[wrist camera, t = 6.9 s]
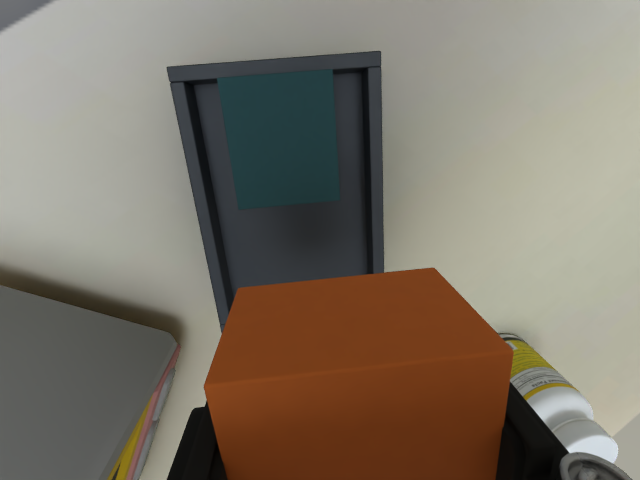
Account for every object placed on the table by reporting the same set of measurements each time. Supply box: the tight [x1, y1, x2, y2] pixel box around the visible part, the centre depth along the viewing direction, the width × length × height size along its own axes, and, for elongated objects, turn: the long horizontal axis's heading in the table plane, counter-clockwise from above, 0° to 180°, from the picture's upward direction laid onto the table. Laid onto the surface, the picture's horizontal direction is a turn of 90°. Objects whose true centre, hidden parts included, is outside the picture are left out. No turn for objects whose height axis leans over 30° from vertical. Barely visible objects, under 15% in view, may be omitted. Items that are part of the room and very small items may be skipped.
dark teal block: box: [217, 69, 340, 210], centre depth 20 cm, size 7×6×4 cm
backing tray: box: [167, 51, 384, 332], centre depth 23 cm, size 18×12×3 cm
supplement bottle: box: [499, 334, 618, 463], centre depth 26 cm, size 5×5×10 cm
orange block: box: [204, 268, 514, 480], centre depth 9 cm, size 7×6×4 cm
